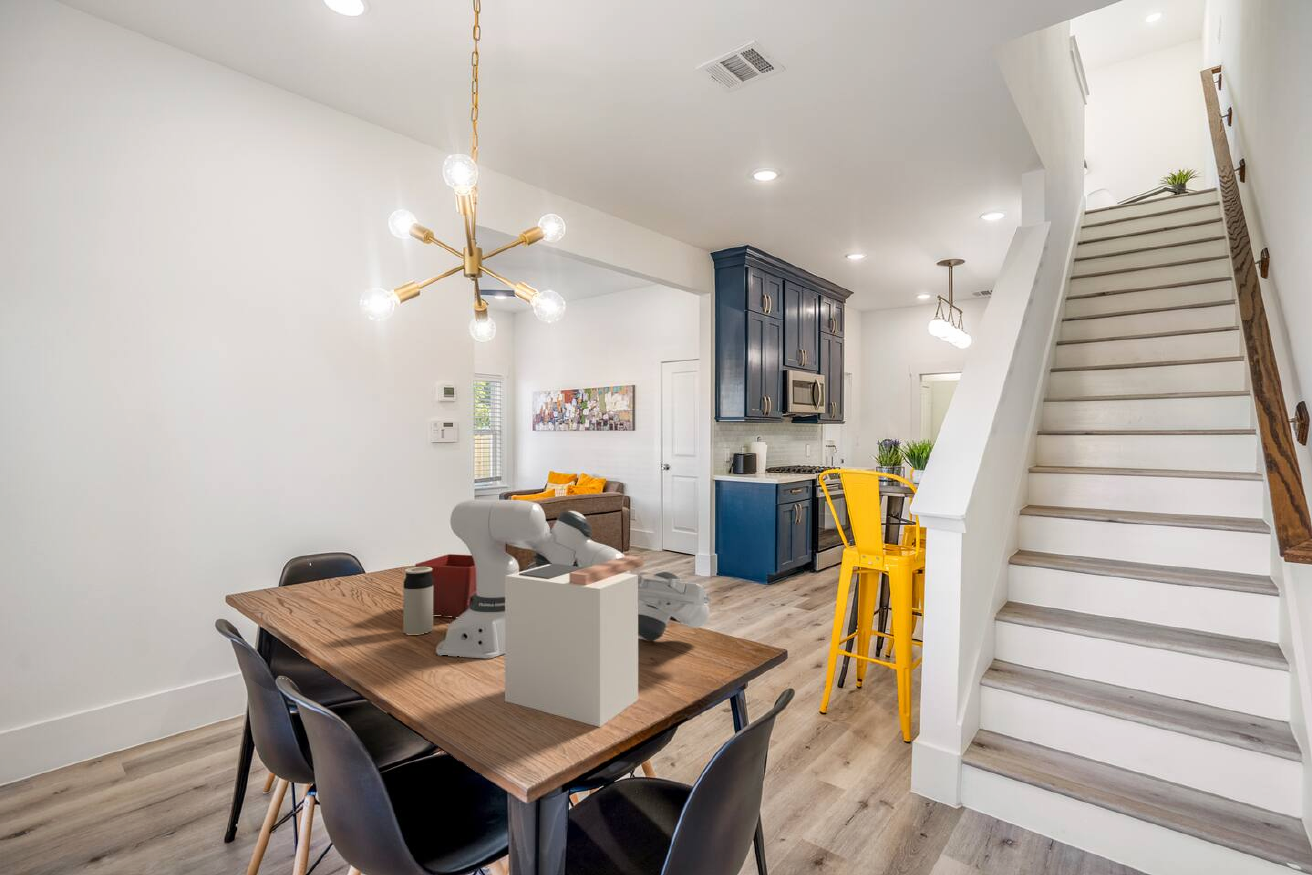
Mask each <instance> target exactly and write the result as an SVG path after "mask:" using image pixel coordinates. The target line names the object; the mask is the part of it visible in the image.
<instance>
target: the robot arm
mask: <svg viewBox="0 0 1312 875" xmlns="http://www.w3.org/2000/svg"><path fill="white" fill-rule="evenodd" d="M449 519H450V521H449V522H450V526H451V530H452V532H453V533H454V535H455V536H457V537H458V538H459V539H460V540H461V541H462V542H463V543H464V544H465V546H466V547H467V548H468V550H469V552H470V554H471V555H472V557H473V560H474V563H475V570H476V591H474V592H473V593H472V594H471V596H470V597H469V599H468V600H467V601H468V603H467V604H469V609H467V610H466V611H465V612H464V613H462V614H461V615H460V616H459V617H458V618H454V620H453V621H451V623H450V624H449V626H448V628H447V630H446V633H445V634H446V635H445V639H443V640H442V641H440V642H439V643H438V644H437V646H436V648H435V653H437V654H438V655H437V654H436V655H437V656H442V655H448V656H447V657H457V656H459V657H460V658H473V659H474V658H476V659H492V658H496V657H498V656H501V655H505V576H507V575H510V574H514V573H518V572H520V565H519V562H518V560H517V559H516V558H515V557H514V556H513V555H511V554H510V553H507V552H506V551H505V549H504V548H503V547H502V545H501V544H502V543H501V542H504V543H506V545H509V546H511V547H516V548H518V549H525V550H532V551H535V554H532V558H533V559H534V563H535V564H534V565H535V568H536V567H540V566H544V565H548V564H550V565H553V564H561V565H570V566H574V563H575V562H576V564H577V566H578V567H584V569H585V568H588V567H591V566H595V565H598V564H601V563H605V562H608V561H611V560H615V559H618V558H621V557H625V556H626V555H625V554H624V553H622V552H621V551H619V550H617V549H616V548H614V547H612V546H610V545H606V544H603V543H599V542H596V541H594V540H592V539H591V536H594V533H593V532H592V527H591V524H590V521H589V519H587V518H586V517H585V516H584V514H582V513H580V512H578V511H576V510H563V511H562V512H560V514H559V515H558V516H557V518H556V522H554V524H553V526H552V528H551V527H550V525H549V523H548V522H547V520H546V513H545V511H544V509H543V507H542V506H541V505H540V504H539V503H536V502H533V501H529V500H528V501H527V500H524V499H499V498H498V499H490V498H489V499H483V498H478V499H477V498H475V499H469V500H465V501H460V502H458V503H457V504H456V505H455V507H454V508H453V509H452V512H451V514H450V518H449ZM590 535H591V536H590ZM624 573H625V574H631V570H630V571H627V572H624ZM634 575H638V638H640V639H642V640H645V641H648V642H653V641H656V640H658V639H660V638H662V637H663V635H664V632H665V630H666V627H667V625H668V622H669V621H670V619H671V618H673V619H676V621H678V622H679V623H681V625H685V626H686V627H689V628H693V629H697V628H701V627H702V626H704V625H706V623H707V621H708V619H709V617H710V606H709V605H708V603H709V604H710V603H711V600H712V599H711V598H710V597H709V596H708V595H707V592H706V589H705V588H704V587H703V586H702V585H701V584H699V583H694V582H686V581H685V580H684V579H682V578H680V577H679V576H677V575H676V574H673V573H671V572H668V571H663V572H662V571H661V572H656V573H655V574H653V575H652V577H645V576H643V575H640V574H634Z"/></svg>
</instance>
